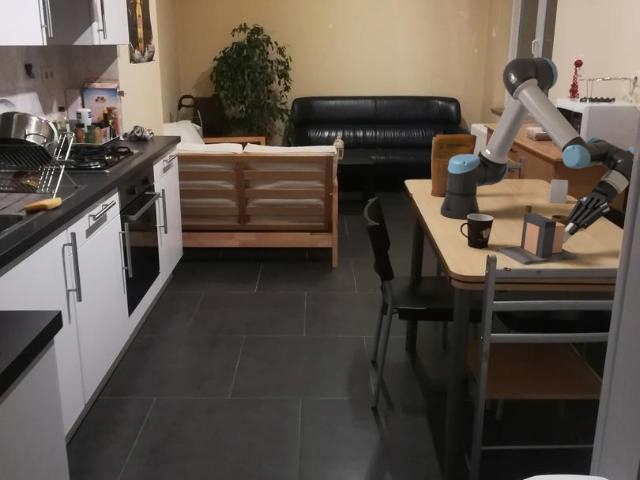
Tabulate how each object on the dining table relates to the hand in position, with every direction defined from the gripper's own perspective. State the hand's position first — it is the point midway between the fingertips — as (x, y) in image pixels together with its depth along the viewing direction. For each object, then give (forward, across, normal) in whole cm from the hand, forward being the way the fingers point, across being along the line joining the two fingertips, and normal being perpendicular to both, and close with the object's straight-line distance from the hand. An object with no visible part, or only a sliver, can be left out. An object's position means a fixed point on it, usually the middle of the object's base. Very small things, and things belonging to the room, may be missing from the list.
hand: (560, 240), depth 205 cm
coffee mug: (+20, +15, +13) cm, 28 cm away
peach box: (+7, +1, +2) cm, 7 cm away
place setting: (-11, +29, -19) cm, 37 cm away
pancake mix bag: (-1, +81, -8) cm, 81 cm away
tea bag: (-30, +59, -37) cm, 76 cm away
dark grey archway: (+9, +1, +4) cm, 10 cm away
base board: (+9, +1, +3) cm, 9 cm away
